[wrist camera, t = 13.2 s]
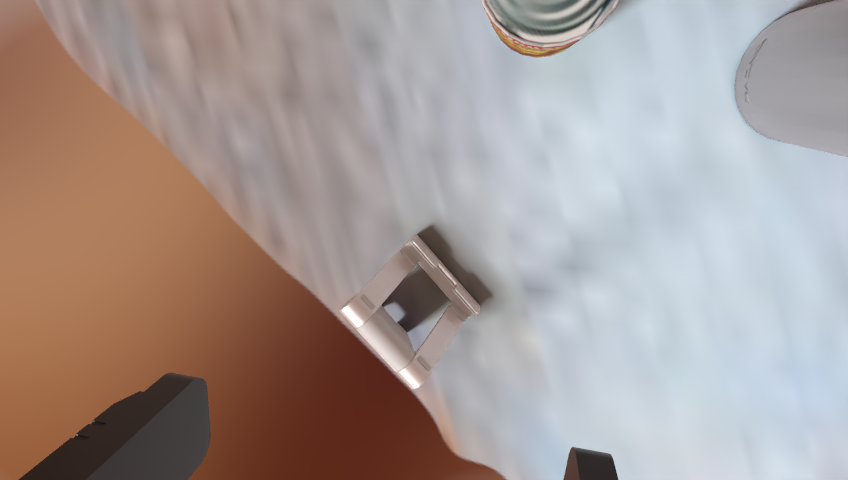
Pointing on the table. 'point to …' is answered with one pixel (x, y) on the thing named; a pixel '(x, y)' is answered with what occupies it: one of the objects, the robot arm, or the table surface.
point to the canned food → (545, 22)
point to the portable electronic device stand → (389, 334)
